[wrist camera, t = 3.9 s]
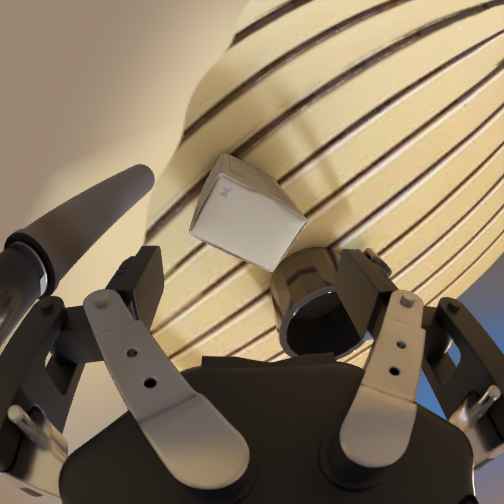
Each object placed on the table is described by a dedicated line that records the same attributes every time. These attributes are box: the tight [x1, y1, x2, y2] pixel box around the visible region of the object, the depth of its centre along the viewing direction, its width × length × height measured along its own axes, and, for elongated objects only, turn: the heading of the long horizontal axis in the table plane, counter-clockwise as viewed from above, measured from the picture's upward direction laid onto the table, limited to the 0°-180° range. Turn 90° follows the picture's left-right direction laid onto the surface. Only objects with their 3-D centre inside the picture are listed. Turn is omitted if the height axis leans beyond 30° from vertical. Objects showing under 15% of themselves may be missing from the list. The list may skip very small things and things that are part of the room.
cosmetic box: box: [189, 152, 307, 272], centre depth 22 cm, size 6×4×12 cm
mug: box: [270, 247, 392, 360], centre depth 29 cm, size 14×10×8 cm
